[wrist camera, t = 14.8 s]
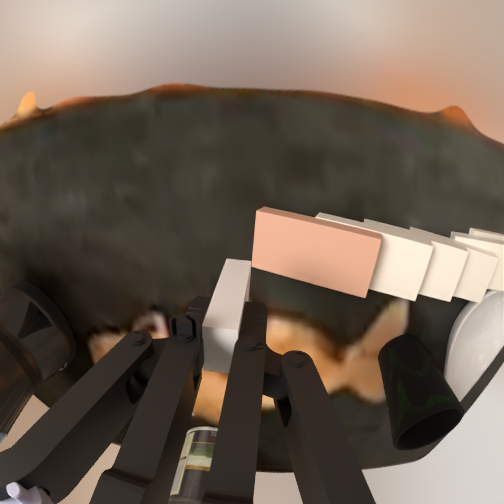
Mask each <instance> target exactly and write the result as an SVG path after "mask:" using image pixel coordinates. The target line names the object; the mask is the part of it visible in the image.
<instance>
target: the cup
mask: <svg viewBox="0 0 504 504" xmlns="http://www.w3.org/2000/svg"><path fill="white" fill-rule="evenodd" d="M378 360H379V365H380V370H381V374H382V379H383V384H384V390H385V395H386V401H387V406H388V412H389V418H390V425H391V432H392V439H393V445H394V447H395V448H396V449H399V450H413V449H417V448H421V447H424V446H426V445H429V444H431V443H433V442H435V441H437V440H439V439H440V438H442V437H443V436H445V435H446V434H448V433H449V432H450V431H451V430H453V429H454V427H456V425H457V424H458V423H459V422H460V421H461V419H462V417H463V415H464V408H463V407H462V405H461V403H460V402H459V400H458V398H457V397H456V395H455V394H454V392H453V390H452V389H451V387H450V386H449V384H448V383H447V381H446V380H445V378H444V377H443V375H442V374H441V372H440V371H439V369H438V368H437V366H436V365H435V363H434V362H433V360H432V359H431V357H430V356H429V354H428V353H427V351H426V350H425V349H424V347H423V346H422V344H421V343H420V342H419V340H418V339H417V338H416V337H415V336H412V335H401V336H398V337H396V338H394V339H392V340H390V341H389V342H388V343H386V344H385V346H384V347H383V348H382V349H381V351H380V353H379V357H378Z"/></svg>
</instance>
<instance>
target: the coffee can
mask: <svg viewBox="0 0 504 504" xmlns="http://www.w3.org/2000/svg"><path fill="white" fill-rule="evenodd" d="M217 431H218V428H216V427H207V426H205V427H195V428H192V429H190V430H189V431H188V432H187V434H186V439H185V443H184V446H183V450H182V453H181V457H180V460H179V464H178V467H177V471H176V474H175V478H174V482H173V486H172V489H171V493H170V497H169V501H168V504H201V500H202V497H203V496H204V494H205V490H206V485H207V480H208V475H209V470H210V465H211V460H212V456H213V451H214V446H215V441H216V436H217Z"/></svg>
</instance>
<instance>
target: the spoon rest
mask: <svg viewBox="0 0 504 504" xmlns="http://www.w3.org/2000/svg"><path fill="white" fill-rule="evenodd" d="M503 346H504V291H499V290H491V289H490V290H487V291H486V292H485V294H484V297H483V299H482V301H481V303H477V302H474V301H469V302H468V303H467V304H466V306H465V307H464V308H463V309H462V311H461V312H460V313H459V315H458V317H457V318H456V320H455V322H454V324H453V327H452V329H451V332H450V335H449V339H448V344H447V352H446V359H445V366H444V374H443V377H444V378H445V380H446V381H447V383H448V384H449V386H450V387H451V389H452V390H453V392H454V394H455V395H456V397H457V398H458V400H459V402H460V401H461V400H462V399H463V398H464V397H465V395H466V394H467V393H468V392H469V390H470V389H471V388H472V387H473V385H474V384H475V383H476V382H477V380H478V379H479V378H480V377H481V375H482V374H483V373H484V372H485V370H486V369H487V368H488V366H489V365H490V364H491V362H492V361H493V360H494V358H495V357H496V356H497V354H498V353H499V352H500V350H501V349H502V347H503Z"/></svg>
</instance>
